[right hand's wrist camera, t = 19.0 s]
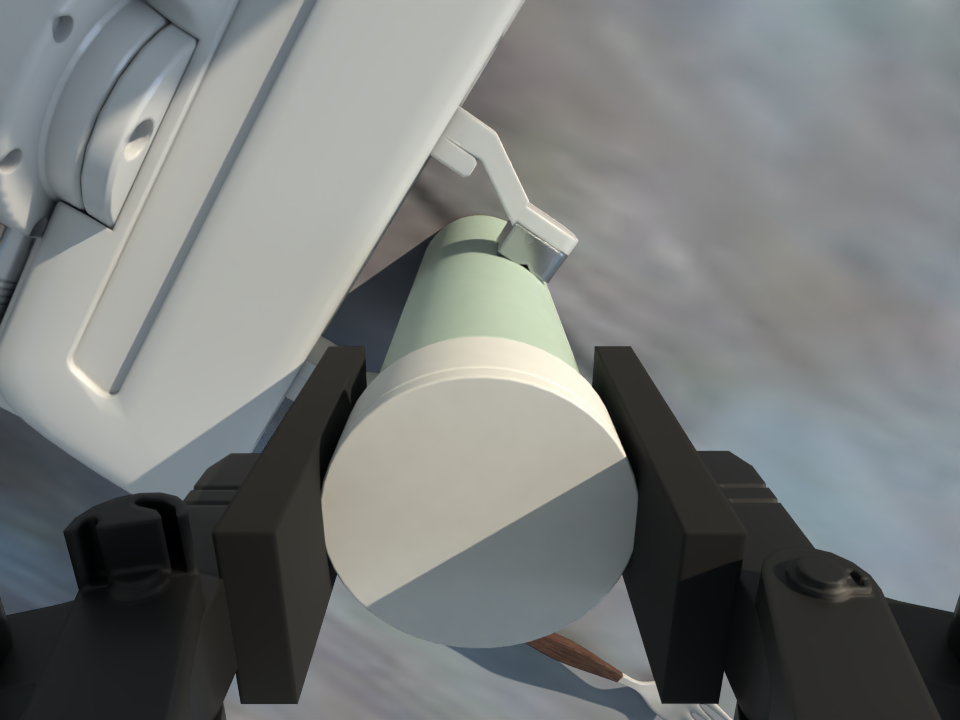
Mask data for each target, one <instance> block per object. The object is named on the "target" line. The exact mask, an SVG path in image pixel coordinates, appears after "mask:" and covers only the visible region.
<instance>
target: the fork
mask: <svg viewBox="0 0 960 720" xmlns="http://www.w3.org/2000/svg"><path fill="white" fill-rule="evenodd" d="M525 643H526V644H528V645H530V646H531V647H533V648H535V649H536V650H538V651H540V652H542V653H543V654H545V655H547V656H549V657H551V658H553V659H555V660H557V661H559V662H562V663H564V664H567V665H570V666H572V667H575V668H578V669H581V670H583V671H586V672H589V673H592V674H595V675H598V676H601V677H604V678H607V679H610V680H612V681H615V682H618V683H621V684H623V685H626V686H628V687H631V688H633V689H634V690H636V691H637V692H638V693H639V694H640V695H641V696H642V697H643V699H644V700H645V702H646V703H647V705H648V706H649V707H650V708H651V709H652V710H653V711H654V712H655V713H656V714H657V715H658V716H659V717H661V718H662V719H663V720H696V719H695V718H694V717H693V716H692V713H696V714H698V715H699V716H701V717H702V718H703V719H705V720H714V719H713V718H712V717H711V716H709V715H708V714H707V713H706V711H705V710H704V709H703V708H702V707H701V704H662V703H661V700H660V697H659V693H658V690H657V687H656V683H655V681H648V682H641V681H637V680H634V679H632V678H630V677H628V676H627V675H625V674H623V673H622V672H620V671H619V670H617V669H616V668H614V667H613V666H611V665H610V664H608V663H606V662H605V661H603V660H602V659H600V658H599V657H597V656H596V655H594V654H593V653H591V652H590V651H588V650H586V649H585V648H583V647H582V646H580V645H578V644H576V643H575V642H573V641H571V640H569V639H567V638H565V637H563V636H561V635H558V634H556V633H552V634H550V635H547V636H545V637H542V638H539V639H536V640H533V641H530V642H525ZM705 705H707V706H708V707H710V708H711V709H712V710H714V711H715V712H716V713H717V714H718V715H720V716H721V717H722V718H723V719H724V720H732V719H731V718H730V717H729V716H728V715H727V714H726V713H725V712H724V711H723V710H722V709H721V708H720V707H719V706H718V705H717V704H705Z"/></svg>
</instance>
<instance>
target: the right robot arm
mask: <svg viewBox="0 0 960 720" xmlns="http://www.w3.org/2000/svg"><path fill="white" fill-rule="evenodd" d="M366 388H367V378H366V362H365V347H364V346H329V347H328V348H327V350H326V351H325V353H324V355H323V356H322V358H321V359H320V361H319V363H318V364H317V366H316V367H315V369H314V370H313V372H312V374H311V375H310V377H309V378H308V380H307V382H306V383H305V385H304V386H303V388H302V389H301V391H300V393H299V394H298V396H297V397H296V399H295V401H294V402H293V404H292V405H291V407H290V408H289V410H288V412H287V413H286V415H285V416H284V418H283V420H282V421H281V423H280V424H279V426H278V427H277V429H276V431H275V432H274V434H273V435H272V437H271V439H270V440H269V442H268V443H267V445H266V446H265V448H264V450H263V451H262V453H230V454H229V455H227V456H226V457H224V458H223V459H221V460H220V461H218V462H216V463H215V464H213V465H212V466H210V467H209V468H207V469H206V471H205V472H204V473H203V475H202V476H201V477H200V479H199V480H198V481H197V483H196V484H195V485H194V489H193V490H191V491H190V492H189V493H188V495H187V496H186V497H185V499H184V500H181V499H180V498H179V497H178V496H174V495H170V494H166V493H161V492H154V493H137V494H132V495H127V496H122V497H117V498H114V499H112V500H109V501H107V502H104V503H101V504H99V505H96V506H94V507H92V508H91V509H89V510H87V511H86V512H84V513H83V514H81V515H79V516H78V517H76V518H75V519H74V520H73V521H72V522H71V523H70V524H69V525H68V527H67V528H66V529H65V530H64V531H63V532H64V536H65V540H66V544H67V547H68V551H69V555H70V559H71V562H72V566H73V570H74V574H75V577H76V581H77V585H78V589H79V591H78V593H77V596H76V598H75V600H73V601H70V602H66V603H62V604H59V605H54V606H49V607H45V608H40V609H35V610H30V611H25V612H21V613H16V614H11V615H6V614H5V611H4V608H3V605H2V601H1V598H0V720H226V715H225V709H224V704H223V701H224V699H225V696H226V694H227V692H228V689H229V687H230V685H231V682H232V680H233V678H234V675H235V673H236V678H237V684H238V690H239V696H240V702H241V704H298V701H299V698H300V694H301V691H302V688H303V684H304V681H305V678H306V675H307V671H308V668H309V665H310V661H311V658H312V655H313V652H314V648H315V645H316V642H317V639H318V635H319V632H320V629H321V625H322V622H323V619H324V616H325V612H326V609H327V606H328V602H329V599H330V596H331V593H332V589H333V586H334V583H335V579H336V576H337V573H336V571H335V570H334V568H333V566H332V563H331V561H330V559H329V557H328V555H327V552H326V544H325V534H324V524H323V514H322V503H321V490H322V484H323V480H324V477H325V474H326V471H327V468H328V466H329V463H330V460H331V458H332V456H333V454H334V451H335V449H336V446H337V444H338V442H339V439H340V437H341V434H342V432H343V430H344V427H345V425H346V423H347V420H348V418H349V415H350V413H351V412H352V410H353V408H354V406H355V404H356V402H357V400H358V399H359V397H360V396H361V395H362V393H363V392H364V391H365V389H366ZM592 388H593V389H594V390H595V392H596V393H597V394H598V395H599V397H600V399H601V400H602V402H603V404H604V405H605V407H606V409H607V411H608V413H609V415H610V418H611V420H612V423H613V425H614V427H615V430H616V432H617V434H618V437H619V439H620V441H621V444H622V446H623V449H624V451H625V453H626V456H627V458H628V460H629V463H630V465H631V468H632V470H633V473H634V475H635V479H636V484H637V488H638V506H637V516H636V526H635V536H634V546H633V552H632V555H631V557H630V560H629V562H628V564H627V566H626V568H625V570H624V571H623V573H622V575H623V578H624V582H625V585H626V588H627V592H628V595H629V598H630V601H631V605H632V608H633V611H634V615H635V618H636V621H637V624H638V628H639V631H640V634H641V638H642V641H643V644H644V647H645V651H646V654H647V657H648V660H649V664H650V667H651V670H652V674H653V677H654V680H655V683H656V687H657V690H658V693H659V697H660V700H661V703H662V704H718V703H719V698H720V692H721V686H722V680H723V674H724V671H725V674H726V676H727V678H728V681H729V683H730V685H731V687H732V690H733V692H734V694H735V697H736V699H737V704H736V709H735V715H734V720H960V595H959V598H958V602H957V605H956V608H955V611H954V613H953V612H949V611H944V610H939V609H934V608H929V607H925V606H920V605H915V604H910V603H905V602H901V601H897V600H893V599H890V598H886V597H884V594H883V592H882V590H881V589H880V587H879V586H878V585H877V583H876V582H875V581H874V579H873V578H872V577H871V575H869V574H868V573H867V572H865V571H864V570H863V569H861V568H860V567H858V566H857V565H856V564H854V563H853V562H851V561H849V560H846V559H844V558H842V557H840V556H837V555H835V554H833V553H830V552H826V551H822V550H818V549H815V548H814V547H813V545H812V544H811V543H810V541H809V540H808V539H807V537H806V536H805V535H804V533H803V532H802V531H801V530H800V528H799V527H798V526H797V524H796V523H795V522H794V520H793V519H792V518H791V516H790V515H789V514H788V512H787V511H786V510H785V508H784V507H783V506H782V505H781V503H778V502H777V498H776V497H775V495H774V494H773V493H772V491H771V490H770V489H769V488H766V483H765V482H764V481H763V480H762V478H761V477H760V476H759V474H758V473H757V472H756V470H755V469H754V468H753V466H751V465H750V464H748V463H747V462H745V461H743V460H742V459H740V458H739V457H737V456H736V455H734V454H733V453H731V452H730V451H696V449H695V448H694V446H693V445H692V443H691V441H690V440H689V438H688V437H687V435H686V433H685V432H684V430H683V429H682V427H681V425H680V424H679V422H678V421H677V419H676V418H675V416H674V414H673V413H672V411H671V410H670V408H669V406H668V405H667V403H666V402H665V400H664V399H663V397H662V395H661V394H660V392H659V391H658V389H657V387H656V386H655V384H654V383H653V381H652V380H651V378H650V376H649V375H648V373H647V372H646V370H645V368H644V367H643V365H642V364H641V362H640V360H639V359H638V357H637V356H636V354H635V353H634V351H633V349H632V348H631V346H595V352H594V367H593V382H592Z"/></svg>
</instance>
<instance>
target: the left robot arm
mask: <svg viewBox="0 0 960 720" xmlns="http://www.w3.org/2000/svg"><path fill="white" fill-rule="evenodd" d="M524 2H525V0H0V407H1V408H3V409H5V410H7V411H9V412H11V413H13V414H15V415H17V416H19V417H20V418H22V419H23V420H24V421H25V422H26V423H27V424H28V425H30V426H31V427H32V428H33V429H35V430H36V431H37V432H39V433H40V434H41V435H42V436H44V437H45V438H47V439H48V440H49V441H51V442H52V443H54V444H55V445H56V446H58V447H59V448H61V449H62V450H63V451H65V452H66V453H68V454H69V455H71V456H72V457H74V458H75V459H77V460H78V461H80V462H81V463H83V464H84V465H86V466H87V467H89V468H90V469H92V470H93V471H95V472H96V473H98V474H99V475H101V476H103V477H104V478H106V479H107V480H109V481H110V482H112V483H114V484H115V485H117V486H119V487H120V488H122V489H124V490H125V491H127V492H129V493H130V494H137V493H154V492H161V493H166V494H170V495H174V496H178V497H179V498H180V499H181V500H184V499H185V497H186V496H187V495H188V493H189V492H190V491H191V490H193V489H194V485H195V484H196V483H197V481H198V480H199V479H200V477H201V476H202V475H203V473H204V472H205V471H206V469H207V468H209V467H210V466H212V465H213V464H215V463H216V462H218V461H220V460H221V459H223V458H224V457H226V456H227V455H229V454H230V453H252V452H253V450H254V448H255V447H256V445H257V443H258V442H259V440H260V438H261V437H262V435H263V433H264V432H265V430H266V428H267V427H268V425H269V423H270V422H271V420H272V418H273V417H274V415H275V414H276V412H277V410H278V409H279V407H280V405H281V404H282V402H283V400H284V399H285V397H286V398H288V399H290V400H292V401H293V402H294V401H295V399H296V397H297V396H298V394H299V393H300V391H301V389H302V388H303V386H304V385H305V383H306V382H307V380H308V378H309V377H310V375H311V374H312V372H313V370H314V369H315V367H316V366H317V364H318V363H319V361H320V359H321V358H322V356H323V355H324V353H325V351H326V350H327V348H328V347H329V346H338V345H336V344H334V343H333V342H331V341H329V340H328V339H326V338H324V337H323V334H324V332H325V331H326V329H327V328H328V326H329V324H330V323H331V321H332V319H333V318H334V316H335V314H336V313H337V311H338V309H339V308H340V306H341V304H342V303H343V301H344V299H345V298H346V296H347V294H348V293H349V291H350V290H351V288H352V286H353V285H354V283H355V281H356V280H357V278H358V276H359V275H360V273H361V271H362V270H363V268H364V266H365V265H366V263H367V261H368V260H369V258H370V256H371V255H372V253H373V251H374V250H375V248H376V247H377V245H378V243H379V242H380V240H381V238H382V237H383V235H384V233H385V232H386V230H387V228H388V227H389V225H390V223H391V222H392V220H393V218H394V217H395V215H396V213H397V212H398V210H399V208H400V207H401V205H402V204H403V202H404V200H405V199H406V197H407V195H408V194H409V192H410V190H411V189H412V187H413V185H414V184H415V182H416V180H417V179H418V177H419V175H420V174H421V172H422V170H423V169H424V167H425V165H426V164H427V162H428V161H429V159H430V157H431V156H432V157H434V158H435V159H437V160H438V161H440V162H441V163H443V164H444V165H446V166H447V167H449V168H450V169H452V170H453V171H455V172H456V173H458V174H459V175H461V176H462V177H467V176H470V174H471V173H472V171H473V169H474V168H475V166H476V165H477V159H478V160H480V161H481V163H482V165H483V167H484V169H485V171H486V173H487V175H488V177H489V179H490V181H491V183H492V185H493V187H494V189H495V191H496V193H497V195H498V197H499V199H500V201H501V203H502V205H503V207H504V209H505V211H506V213H507V216H508V218H509V220H508V222H507V224H506V225H505V227H504V228H503V230H502V231H501V233H500V235H499V236H498V238H497V239H496V243H497V245H498V246H497V250H498V252H499V253H500V254H502V255H503V256H505V257H506V258H508V259H509V260H511V261H512V262H515V263H517V264H518V265H521V264H527V265H528V268H529V271H530V272H531V273H532V274H533V275H534V276H535V277H537V278H538V279H540V280H542V281H544V282H547V283H549V281H550V280H551V279H552V277H553V276H554V274H555V273H556V272H557V270H558V269H559V268H560V266H561V265H562V264H563V262H564V261H565V259H566V258H567V257H568V255H569V254H570V252H571V251H572V250H573V248H574V247H575V245H576V244H577V243H578V239H577V238H576V236H575V235H574V234H573V233H572V232H571V231H569V230H568V229H567V228H566V227H564V226H563V225H562V224H560V223H559V222H557V221H556V220H554V219H553V218H551V217H550V216H549V215H547V214H546V213H544V212H543V211H541V210H540V209H538V208H537V207H535V206H534V205H532V204H531V203H529V200H528V198H527V196H526V194H525V192H524V190H523V188H522V186H521V183H520V181H519V179H518V177H517V175H516V173H515V171H514V169H513V167H512V164H511V162H510V160H509V158H508V156H507V154H506V152H505V150H504V147H503V145H502V143H501V141H500V139H499V137H498V135H497V133H496V132H495V131H494V130H493V129H491V128H490V127H488V126H487V125H486V124H484V123H483V122H481V121H480V120H478V119H477V118H476V117H474V116H473V115H471V114H470V113H469V112H467V111H466V110H464V109H463V108H461V106H462V104H463V103H464V101H465V99H466V98H467V96H468V94H469V93H470V91H471V89H472V88H473V86H474V84H475V83H476V81H477V79H478V78H479V76H480V75H481V73H482V71H483V70H484V68H485V66H486V65H487V63H488V61H489V60H490V58H491V56H492V55H493V53H494V51H495V50H496V48H497V46H498V45H499V43H500V41H501V40H502V38H503V37H504V35H505V33H506V32H507V30H508V28H509V27H510V25H511V23H512V22H513V20H514V18H515V17H516V15H517V13H518V12H519V10H520V8H521V7H522V5H523V3H524ZM378 375H379V373H374V372H366V378H367V386H368V385H369V384H370V383H371V382H372V381H373V380H374V379H375V378H376V377H377V376H378Z"/></svg>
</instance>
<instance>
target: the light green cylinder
mask: <svg viewBox="0 0 960 720" xmlns="http://www.w3.org/2000/svg"><path fill="white" fill-rule="evenodd" d="M506 224H507V222H506V221H504V220H501V219H499V218H495V217H491V216H484V215H475V216H468V217H464V218H461V219H458V220H456V221H453V222H451V223H450V224H448V225H447V226H445V227H444V228H443V229H441V230H440V231H439V232H438V233H437V234H436V235H435V236H434V238H433V239H432V240H431V242H430V243H429V245H428V247H427V249H426V251H425V254H424V257H423V259H422V262H421V264H420V267H419V270H418V272H417V275H416V278H415V280H414V283H413V286H412V288H411V291H410V294H409V296H408V299H407V302H406V304H405V307H404V309H403V312H402V315H401V317H400V320H399V323H398V325H397V328H396V331H395V333H394V336H393V339H392V341H391V344H390V346H389V349H388V352H387V354H386V357H385V360H384V362H383V365H382V368H381V370H380V373H381V372H382V371H384V370H385V369H386V368H388V367H389V366H390V365H391V364H393V363H394V362H395V361H397V360H399V359H401V358H402V357H404V356H406V355H407V354H409V353H411V352H413V351H416V350H418V349H420V348H423V347H425V346H427V345H430V344H434V343H438V342H441V341H445V340H450V339H457V338H463V337H495V338H504V339H509V340H514V341H518V342H522V343H526V344H528V345H531V346H534V347H537V348H539V349H542V350H544V351H546V352H548V353H550V354H552V355H554V356H555V357H557V358H559V359H561V360H562V361H563V362H565V363H566V364H568V365H569V366H571V367H572V368H573V369H575V370H576V371H577V372H578V373H579V374H580V372H579V369H578V366H577V364H576V361H575V359H574V356H573V353H572V351H571V348H570V345H569V343H568V340H567V337H566V335H565V332H564V329H563V327H562V324H561V321H560V319H559V316H558V314H557V311H556V308H555V306H554V303H553V300H552V298H551V295H550V292H549V290H548V287H547V284H546V282H544V281H542V280H540V279H538V278H537V277H535V276H534V275H533V274H532V273H531V272H530V271H529V268H528V265H527V264H521V265H518V264H517V263H515V262H512V261H511V260H509V259H508V258H506V257H505V256H503V255H502V254H500V253H499V252H498V250H497V246H498V245H497V243H496V239H497V238H498V236H499V235H500V233H501V231H502V230H503V228H504V227H505V225H506ZM380 373H379V374H380ZM580 375H581V374H580Z"/></svg>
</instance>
